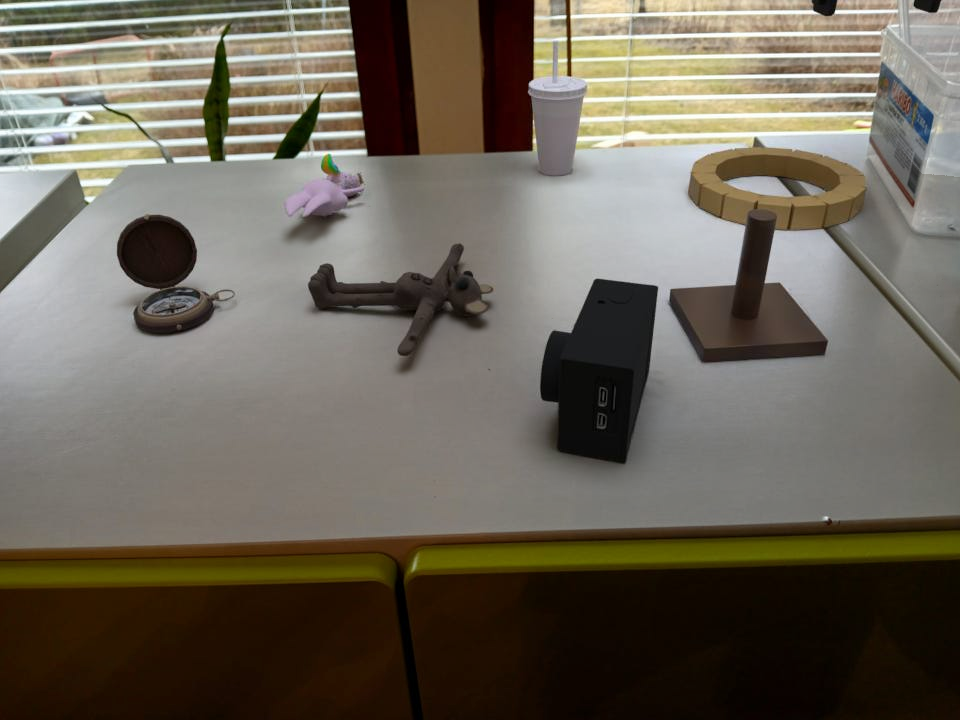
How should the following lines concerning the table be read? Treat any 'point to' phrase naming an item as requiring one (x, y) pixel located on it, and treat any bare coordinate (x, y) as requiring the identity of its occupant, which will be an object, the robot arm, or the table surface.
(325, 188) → the rabbit figure
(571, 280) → the table surface
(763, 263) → the brown peg stand
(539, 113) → the smoothie
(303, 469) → the table surface
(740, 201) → the block ring
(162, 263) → the compass
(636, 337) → the digital camera
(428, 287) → the bear figurine
